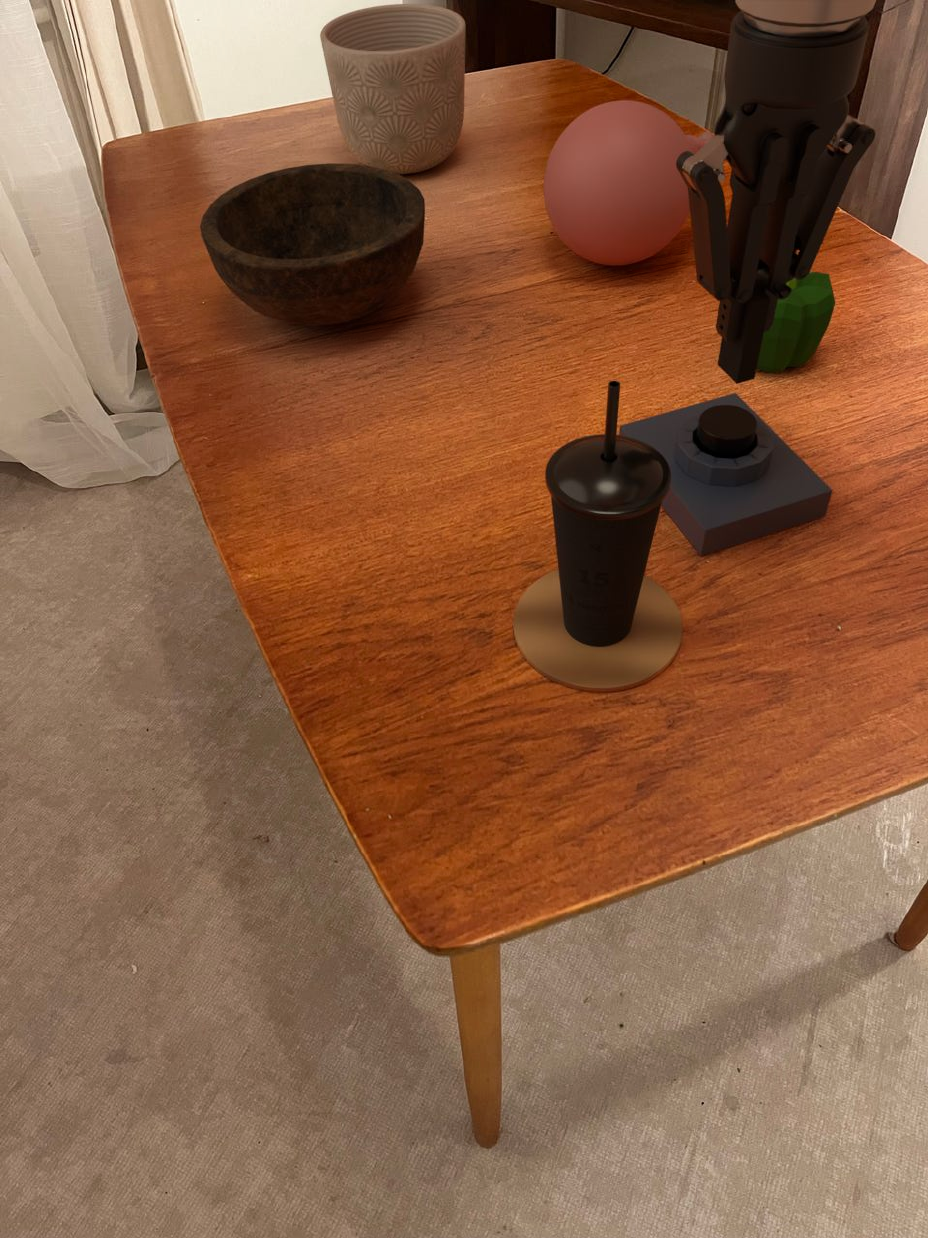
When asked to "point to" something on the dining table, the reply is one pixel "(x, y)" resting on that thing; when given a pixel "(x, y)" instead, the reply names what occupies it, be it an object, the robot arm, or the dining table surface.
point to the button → (726, 431)
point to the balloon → (619, 182)
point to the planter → (397, 83)
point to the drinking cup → (604, 526)
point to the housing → (730, 481)
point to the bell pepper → (798, 324)
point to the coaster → (588, 665)
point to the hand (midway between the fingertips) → (735, 371)
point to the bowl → (316, 241)
